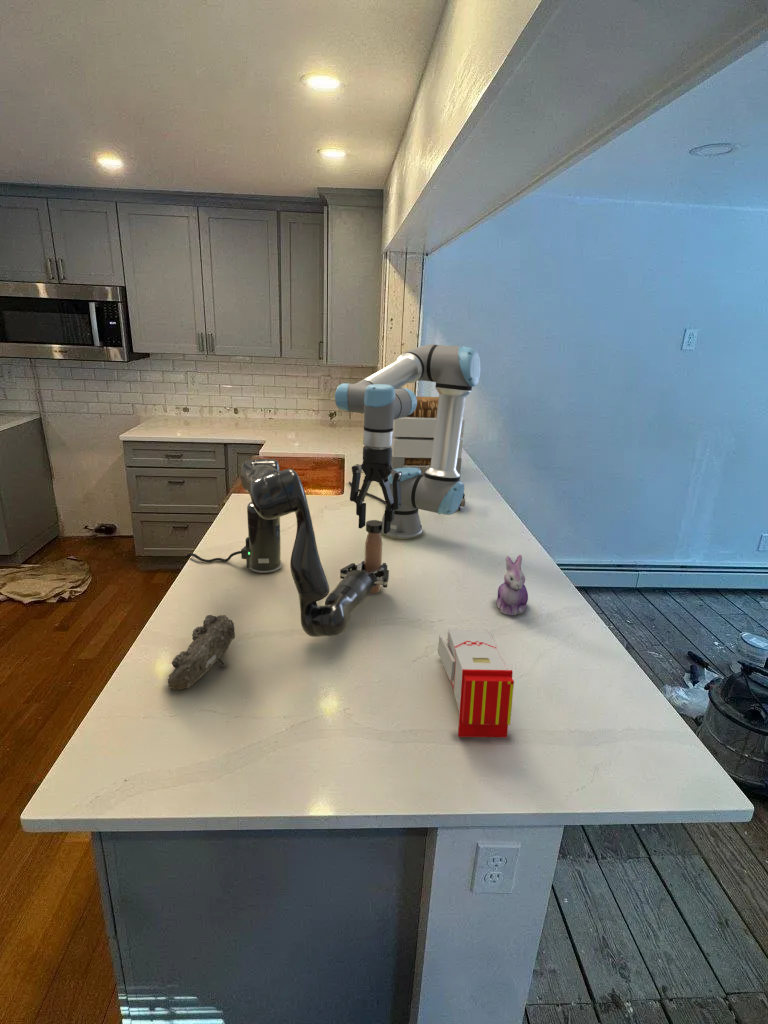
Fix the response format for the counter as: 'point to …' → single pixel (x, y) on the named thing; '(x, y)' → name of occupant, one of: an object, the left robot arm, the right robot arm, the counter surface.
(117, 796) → the counter surface
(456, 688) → the toy
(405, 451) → the grey slatted crate
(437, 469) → the right robot arm
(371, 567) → the bottle
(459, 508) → the figurine character
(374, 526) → the cap
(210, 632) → the fossil
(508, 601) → the figurine
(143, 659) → the counter surface
